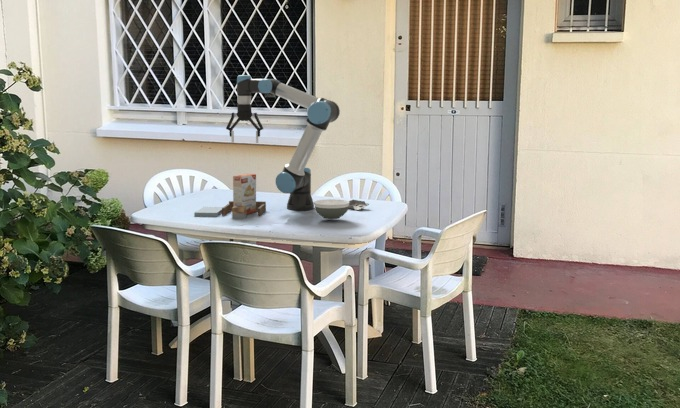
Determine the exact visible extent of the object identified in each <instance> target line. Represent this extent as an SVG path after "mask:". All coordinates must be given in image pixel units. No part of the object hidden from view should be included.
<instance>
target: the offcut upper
mask: <svg viewBox="0 0 680 408" xmlns="http://www.w3.org/2000/svg"><path fill="white" fill-rule="evenodd" d="M245 212H246V206H234V207H232V210H231V215H232V214H244V213H245Z"/></svg>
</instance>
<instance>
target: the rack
mask: <svg viewBox="0 0 680 408" xmlns="http://www.w3.org/2000/svg"><path fill="white" fill-rule="evenodd" d="M266 203H267V202H266V201H258V200H256V212H257V216H258V217H261V216H262V215H263V214H264V213H265V212H266V211H267V204H266ZM222 207H223V208H222V213H221V216H223V217H224V216H226V215H227V214H228V213H230V212H231V211H232V207H233V200H229V201H228V203H227V204H226V205H224V206H222Z"/></svg>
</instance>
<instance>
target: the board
mask: <svg viewBox="0 0 680 408" xmlns="http://www.w3.org/2000/svg"><path fill="white" fill-rule="evenodd" d="M223 207H224V206H202V207H201V208H199V209H198V210H196V211H195V212H194V217H208V218H209V217H210V218H211V217H220V216H221V215H222V208H223Z"/></svg>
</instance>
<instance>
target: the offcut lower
mask: <svg viewBox="0 0 680 408" xmlns="http://www.w3.org/2000/svg"><path fill="white" fill-rule="evenodd" d="M231 217H232V218H231V219H233V220H234V219H235V220H238V219H239V220H240V219H241V220H244V219H245V218H247V214H246V212H245V213H244V214H232V213H231Z"/></svg>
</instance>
